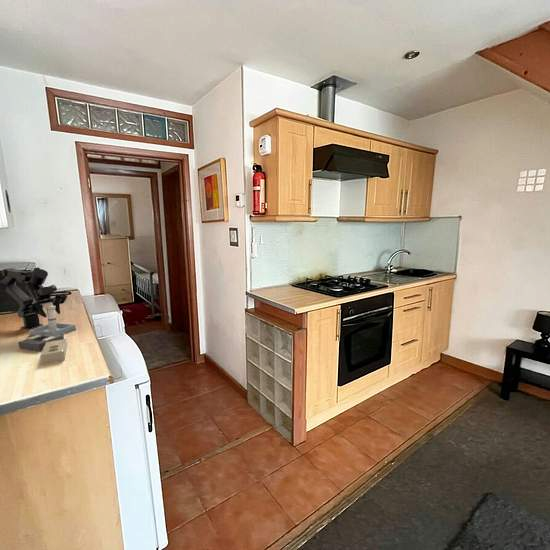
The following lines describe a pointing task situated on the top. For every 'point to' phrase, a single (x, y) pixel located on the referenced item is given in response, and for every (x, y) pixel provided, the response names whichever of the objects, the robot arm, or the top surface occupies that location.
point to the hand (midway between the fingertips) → (52, 315)
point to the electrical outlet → (54, 351)
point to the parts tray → (61, 330)
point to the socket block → (39, 341)
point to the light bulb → (51, 318)
